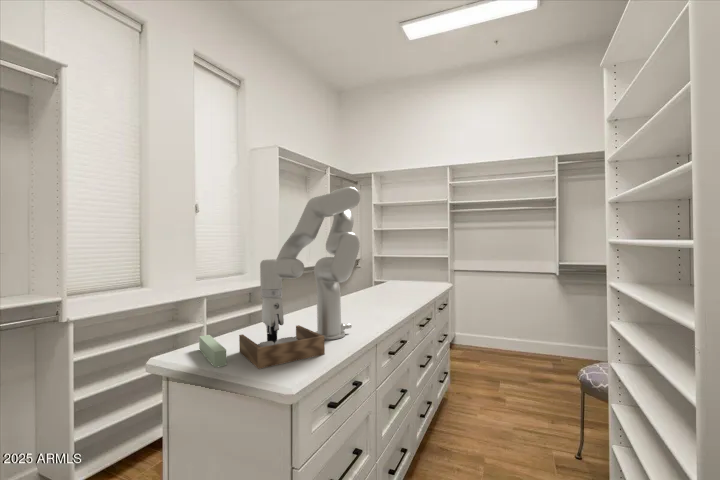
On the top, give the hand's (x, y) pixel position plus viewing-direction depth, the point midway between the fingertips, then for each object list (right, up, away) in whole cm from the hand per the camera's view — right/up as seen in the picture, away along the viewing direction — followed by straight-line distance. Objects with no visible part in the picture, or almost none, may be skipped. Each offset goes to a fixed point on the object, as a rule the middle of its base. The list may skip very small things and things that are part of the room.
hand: (272, 344), depth 126 cm
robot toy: (+3, -1, -7) cm, 8 cm away
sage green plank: (-18, -2, -9) cm, 20 cm away
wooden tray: (+5, -1, -7) cm, 8 cm away
